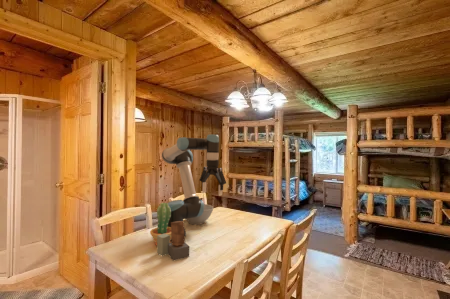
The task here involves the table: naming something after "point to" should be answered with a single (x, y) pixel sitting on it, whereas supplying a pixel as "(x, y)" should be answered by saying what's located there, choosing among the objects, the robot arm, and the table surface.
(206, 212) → the decorative bowl
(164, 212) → the potted cactus
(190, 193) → the robot arm
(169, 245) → the charcoal base block
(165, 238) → the sage block
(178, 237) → the walnut block
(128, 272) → the table surface
